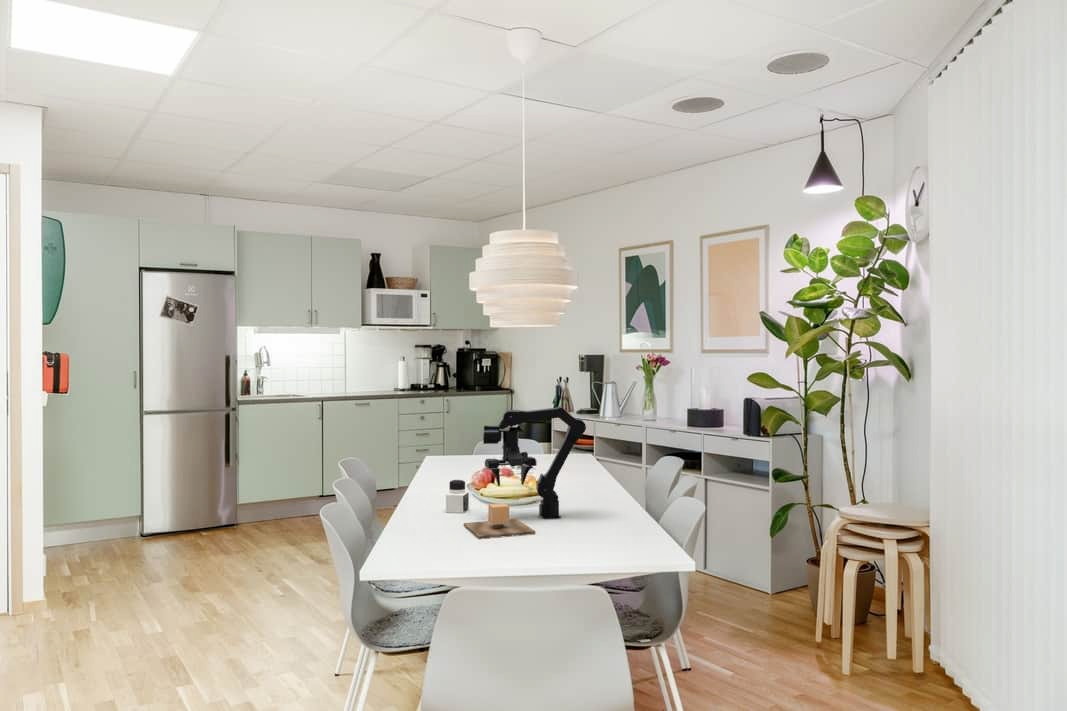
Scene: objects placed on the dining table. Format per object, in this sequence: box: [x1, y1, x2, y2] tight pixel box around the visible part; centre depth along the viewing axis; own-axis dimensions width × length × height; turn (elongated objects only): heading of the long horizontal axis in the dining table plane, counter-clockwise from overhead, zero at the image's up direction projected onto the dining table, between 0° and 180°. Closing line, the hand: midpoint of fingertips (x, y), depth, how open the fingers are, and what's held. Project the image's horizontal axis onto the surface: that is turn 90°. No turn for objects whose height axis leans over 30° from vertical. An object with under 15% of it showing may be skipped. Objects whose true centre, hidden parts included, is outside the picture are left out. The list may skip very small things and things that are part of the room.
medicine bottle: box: [445, 479, 470, 514], centre depth 301 cm, size 7×7×12 cm
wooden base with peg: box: [463, 518, 536, 540], centre depth 270 cm, size 20×20×8 cm
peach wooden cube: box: [487, 502, 510, 525], centre depth 270 cm, size 6×6×6 cm
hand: (510, 485), depth 290 cm, fingers open, 9 cm apart
